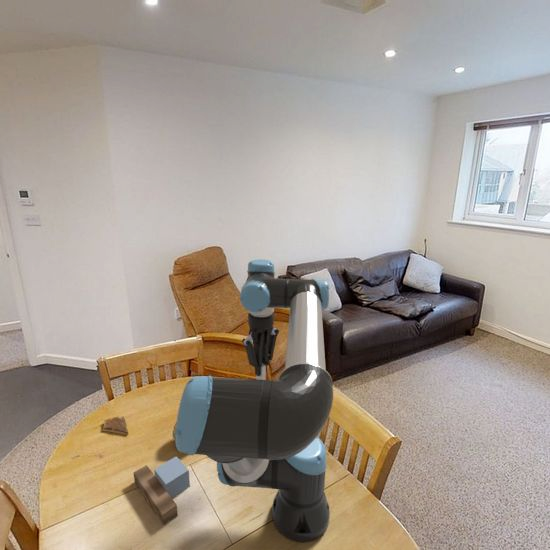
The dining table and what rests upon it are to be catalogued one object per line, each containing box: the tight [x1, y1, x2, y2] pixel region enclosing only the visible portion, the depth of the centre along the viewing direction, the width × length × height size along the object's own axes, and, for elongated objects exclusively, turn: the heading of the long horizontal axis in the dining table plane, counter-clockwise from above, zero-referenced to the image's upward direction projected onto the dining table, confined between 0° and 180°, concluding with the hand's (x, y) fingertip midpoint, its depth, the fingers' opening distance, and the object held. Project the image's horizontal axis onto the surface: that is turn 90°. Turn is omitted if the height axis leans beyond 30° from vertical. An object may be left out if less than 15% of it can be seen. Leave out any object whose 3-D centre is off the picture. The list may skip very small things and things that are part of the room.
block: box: [153, 456, 191, 499], centre depth 102 cm, size 7×7×6 cm
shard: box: [102, 415, 129, 436], centre depth 124 cm, size 11×8×2 cm
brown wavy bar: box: [133, 464, 179, 526], centre depth 98 cm, size 18×4×4 cm, turn 44°
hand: (261, 382), depth 110 cm, fingers closed
